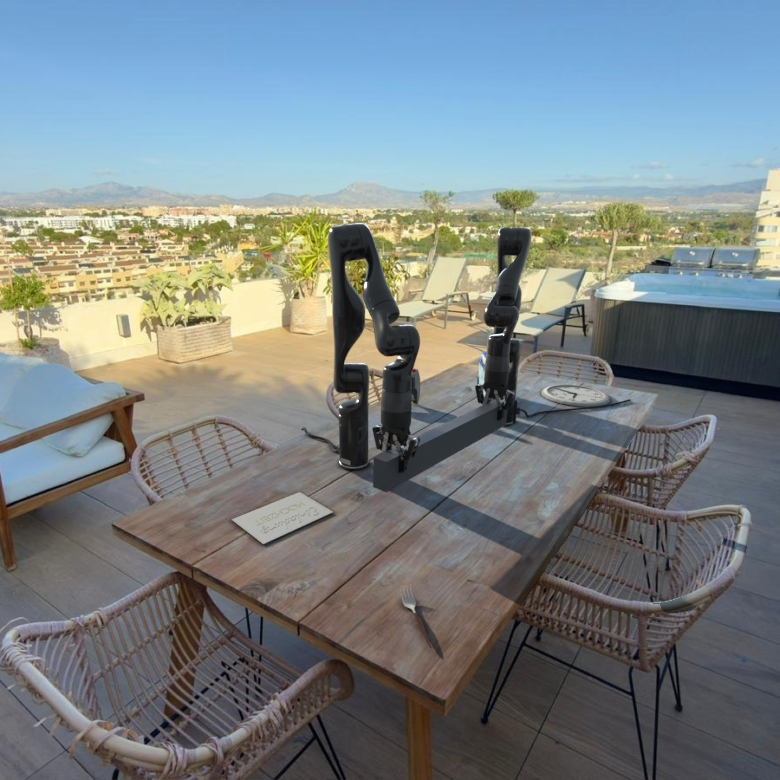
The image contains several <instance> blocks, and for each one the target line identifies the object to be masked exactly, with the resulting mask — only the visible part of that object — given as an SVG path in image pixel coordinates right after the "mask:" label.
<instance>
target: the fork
mask: <svg viewBox="0 0 780 780" xmlns="http://www.w3.org/2000/svg"><path fill="white" fill-rule="evenodd" d="M402 587H403V590H402ZM399 588H400V594H401V599H402V604H403V606H404V607H405V608H407V609H410V610H411V611H412V613H413V617H414V619H415V623H416V625H417V628H418V630H419V632H420V633H421V635H422V636H423V638H424V640H425V643H427V645H428V647H429V648H430V649H431V648H432V646H431V643H430V640H429V636H428V633H427V630H426V627H425V624H424V623H423V621H422V619H421V618H420V616H419V615H418V613H417V612H416V609H415V608H416V606H417V601H416V599H415V595H414V592H413V589H412V586H411V584H409V587H408V586H406V589H407V590H406V589H405V585H403V586H401V585H399ZM409 588H410V591H409ZM406 591H407V592H406ZM403 592H404V594H403Z"/></svg>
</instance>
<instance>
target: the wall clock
mask: <svg viewBox="0 0 780 780" xmlns="http://www.w3.org/2000/svg"><path fill="white" fill-rule="evenodd" d="M541 395H542V396H543V398H545V399H547V400H549V401H551V402H553V403H557V404H560V405H567V406H571V407H578V408H583V407H593V406H600V405H607V404H610V402H611V398H610V396H609V395H608V394H606V393H605V392H603V391H602V390H598V389H595V388H593V387H588V386H585V385H584V386H583V385H576V384H555V385H550V386H547V387H545V388H544V389H542V390H541Z"/></svg>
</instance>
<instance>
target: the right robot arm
mask: <svg viewBox="0 0 780 780" xmlns="http://www.w3.org/2000/svg"><path fill="white" fill-rule="evenodd" d="M531 247H532V231H531V229H530V228H527V227H511V226H504V227H500V228H499V230H498V233H497V237H496V279H495V280H496V281H495V288H494V292H493V295H492V296H491V299H490V300H489V302H488V304H487V305H486V307H485V309H484V311H483V315H482V319H483V322H484V324H485V325H486V326H487V327H489V328H493V332H492V334H491V335H489V336H488V337H487V345H486V352H487V355H486V360H485V373H484V384H482V385H481V384H478V385H477V384H476V385H475V386H474V389H475V395H476V399H477V403H478V404H481V406H482V405H485V404H487V403H489V402H490V400H491V401H493V400H495V399H496V402H497V404H498V408H499V410H498V415H497V420H498V421H500V420H502V419H503V418H504V410H507V420H506V425H505V426H511V425H513V424H516V423H517V415H520V414H521V412H522V413H524V414H525V417H527V418H533V417H534V416H536V415H539V414H547V413H557V412H568V411H581V410H591V409H597V408H598V409H600V408H605V407H611V406H615V405H621V404H624V403H628V402H631V400H632V399H625V400H622V401H617V402H613V403H608V404H606V405H600V406H593V407H572V408H561V409H549V410H540V411H537V412H534V413H532V414H531V415H530V414H528V412H527V411H526V410H524V409H522V408H521V407H520V406H518V399H517V388H518V377H519V376H518V375H519V366H520V359H521V353H522V352H521V351H522V343H521V341H520V340H519V339H515V338H512V337H513V334H514V331H515V328H516V327H517V324H518V321H519V318H520V311H521V307H522V296H523V293H522V292H523V291H522V288H521V286H520V281H521V278H522V274H523V271H524V269H525V266H526V263H527V260H528V257H529V255H530V250H531ZM508 257H515V258H514V259H513V260H512V262H511V263H510V264H509V261H508ZM483 389H484V390H485V392H486V394H485V397H484V394H483ZM505 401H506V403H505Z"/></svg>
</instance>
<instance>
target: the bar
mask: <svg viewBox="0 0 780 780" xmlns="http://www.w3.org/2000/svg"><path fill="white" fill-rule="evenodd" d="M505 403H506V401H505ZM498 410H499V408H498V404H497V402H496V399H495V400H493V401H491V402H489V403H487V404H485V405H482V404H481V406H478V407H476V408H473V409H472V410H470V411H467V412H466V413H463V414H461V415H459V416H457V417H455V418H453V419H450V420H448V421H446V422H445V423H442V424H440V425H438V426H436V427H434V428H431V429H430V430H427V431H425V432H422V433H421V434H419V435H417V436H414V437H415V438H417V437H418V438H420V442H419V445H418V448H417V451H416V455H415V457H414V458H411V459H410V460H408V466H407V467H408V468H407V470H406V471H405V472H404V473H402V474H401V473H399V460H400V458H399V453H398V452H397V451H396V446H392V448H391V449H389V450H387V451H385V452H383V453H382V452H381V453H379V454H376V455H374V456H373V459H372V460H373V461H372V463H373V465H372V469H373V470H372V471H373V472H372V487H373V488H374V489H377V490H379V491H381V492H384V493H389V491H392V490H393V489H396V488H397V487H399V486H400V485H402V484H404V483H406V482H407V481H409V480H411V479H413V478H415V477H417V476H418V475H420V474H422V473H424V472H425V471H427V470H429V469H431V468H433V467H434V466H436V465H438V464H440V463H441V462H443V461H445V460H448V458H450V457H452V456H454V455H455V454H457V453H459V452H461V451H463V450H465V449H467V448H468V447H470V446H472V445H473V444H475V443H477V442H478V441H480V440H482V439H484V438H486V437H488V436H490V435H491V434H493V433H495V432H496V431H498V430H501V429H502V428H504V427H506V426H507V425H506V420H507V410H504V418H503V419H502V420H500V421H498V420H497V415H498ZM407 441H408V443H409V440H407ZM402 446H403V445H402ZM402 446H401V447H402ZM408 446H409V445H408ZM403 454H404V451H403Z"/></svg>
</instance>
